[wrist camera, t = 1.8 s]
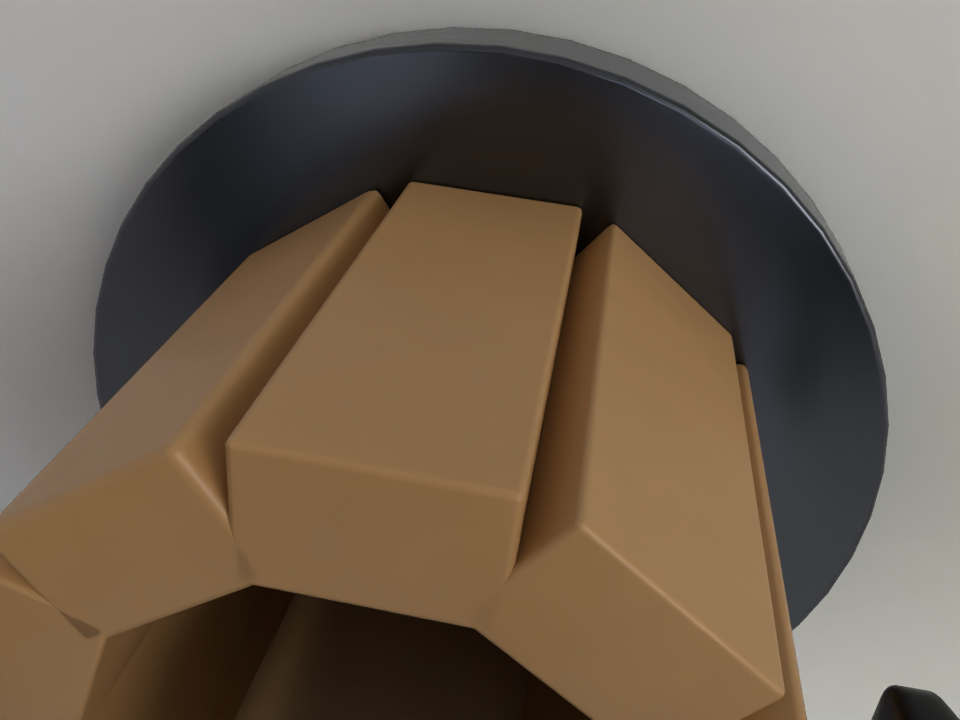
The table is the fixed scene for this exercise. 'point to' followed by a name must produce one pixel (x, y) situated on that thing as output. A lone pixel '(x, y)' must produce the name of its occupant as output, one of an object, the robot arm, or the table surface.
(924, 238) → the table surface
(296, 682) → the stand
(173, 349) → the wooden segmented ring
